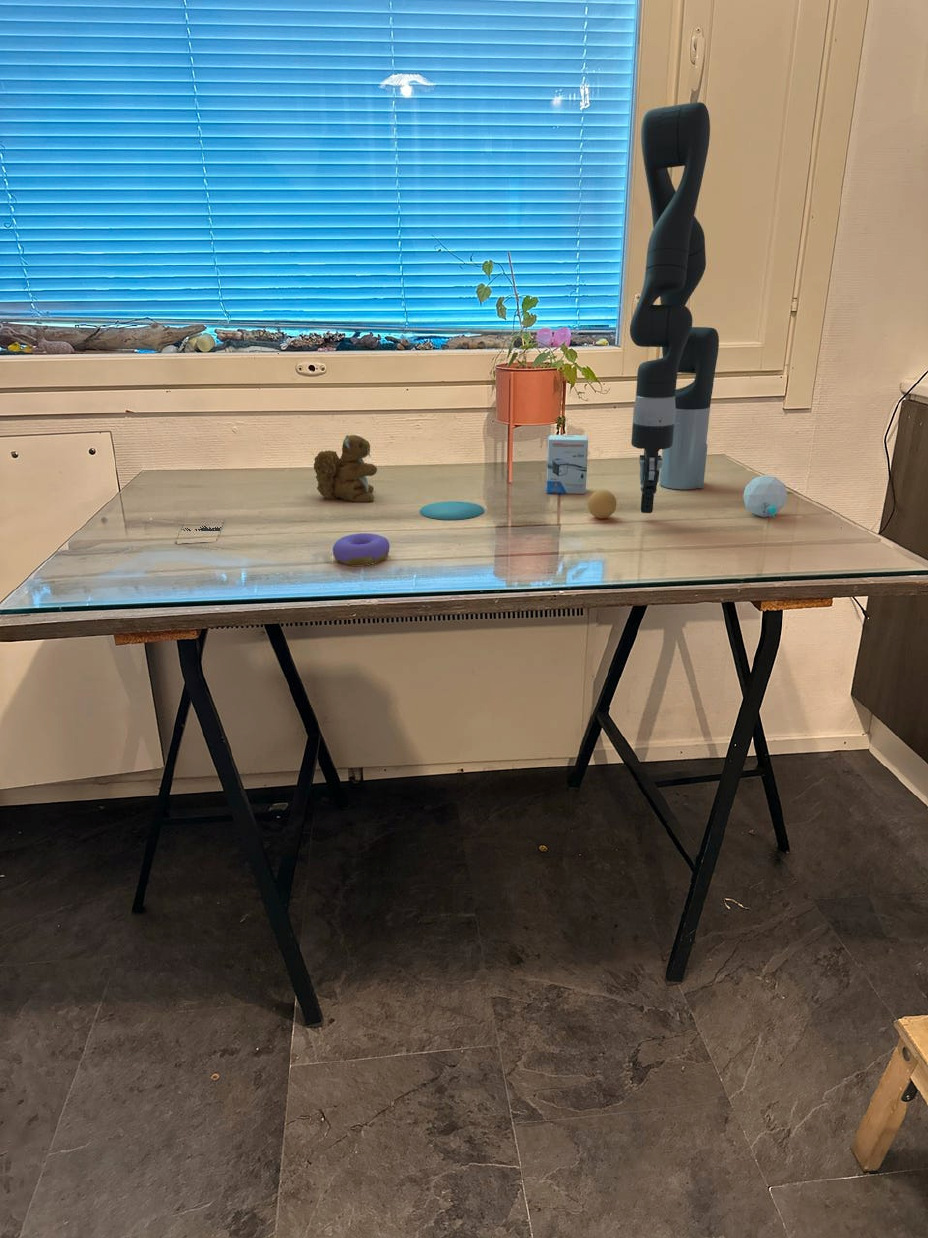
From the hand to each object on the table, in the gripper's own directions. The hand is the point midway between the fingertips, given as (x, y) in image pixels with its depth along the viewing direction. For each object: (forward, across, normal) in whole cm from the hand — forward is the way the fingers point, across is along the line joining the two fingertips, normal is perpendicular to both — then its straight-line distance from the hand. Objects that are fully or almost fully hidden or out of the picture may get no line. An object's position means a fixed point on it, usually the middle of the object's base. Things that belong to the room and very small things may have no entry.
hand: (646, 511), depth 156 cm
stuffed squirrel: (+2, +11, +63) cm, 64 cm away
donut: (+2, -28, +49) cm, 56 cm away
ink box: (+2, +20, +16) cm, 26 cm away
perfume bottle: (+2, +4, -23) cm, 23 cm away
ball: (-1, 0, +8) cm, 9 cm away
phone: (+2, -16, +84) cm, 85 cm away
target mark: (+2, +2, +38) cm, 39 cm away
